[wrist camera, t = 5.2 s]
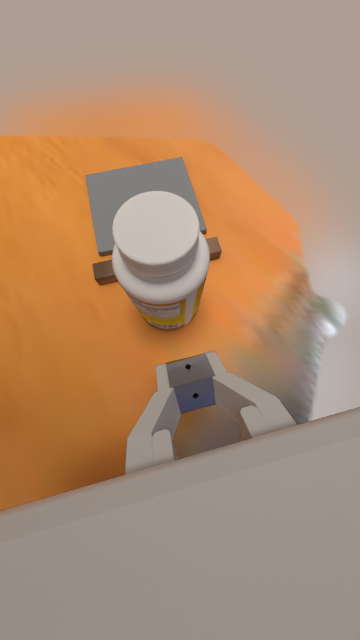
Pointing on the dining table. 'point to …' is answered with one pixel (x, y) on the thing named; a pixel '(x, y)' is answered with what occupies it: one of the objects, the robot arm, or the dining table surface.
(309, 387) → the dining table surface
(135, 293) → the supplement bottle
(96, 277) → the strip
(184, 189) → the felt tile
